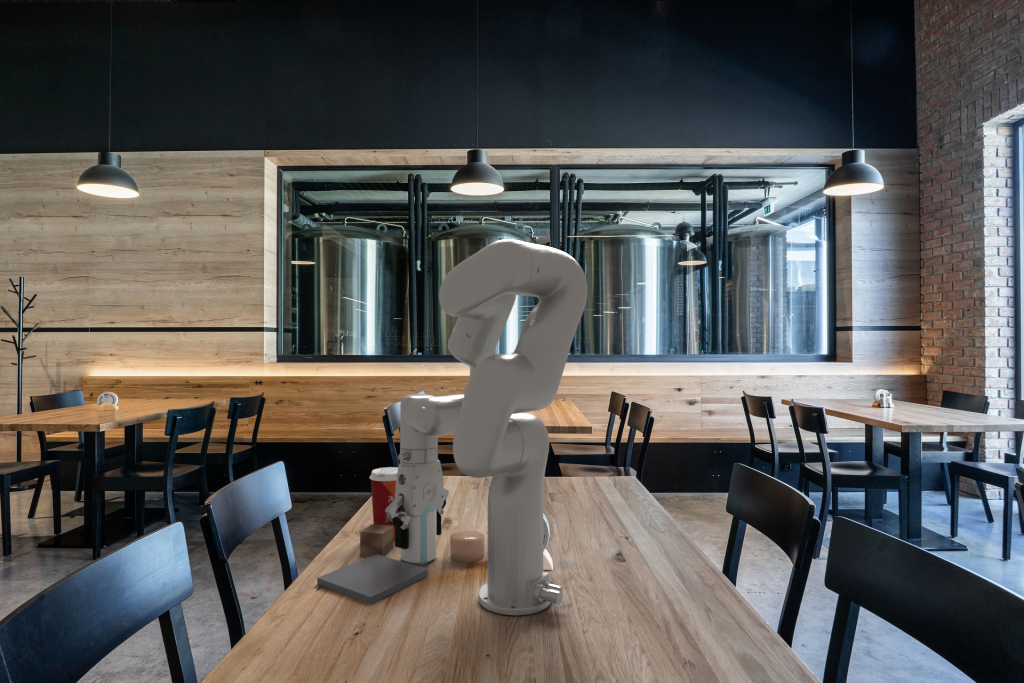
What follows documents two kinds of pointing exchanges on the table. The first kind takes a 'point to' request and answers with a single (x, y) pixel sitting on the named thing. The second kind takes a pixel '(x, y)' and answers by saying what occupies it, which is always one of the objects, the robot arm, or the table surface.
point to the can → (421, 537)
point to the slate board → (372, 578)
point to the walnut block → (376, 540)
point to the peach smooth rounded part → (467, 546)
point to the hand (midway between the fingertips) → (418, 540)
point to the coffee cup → (383, 494)
